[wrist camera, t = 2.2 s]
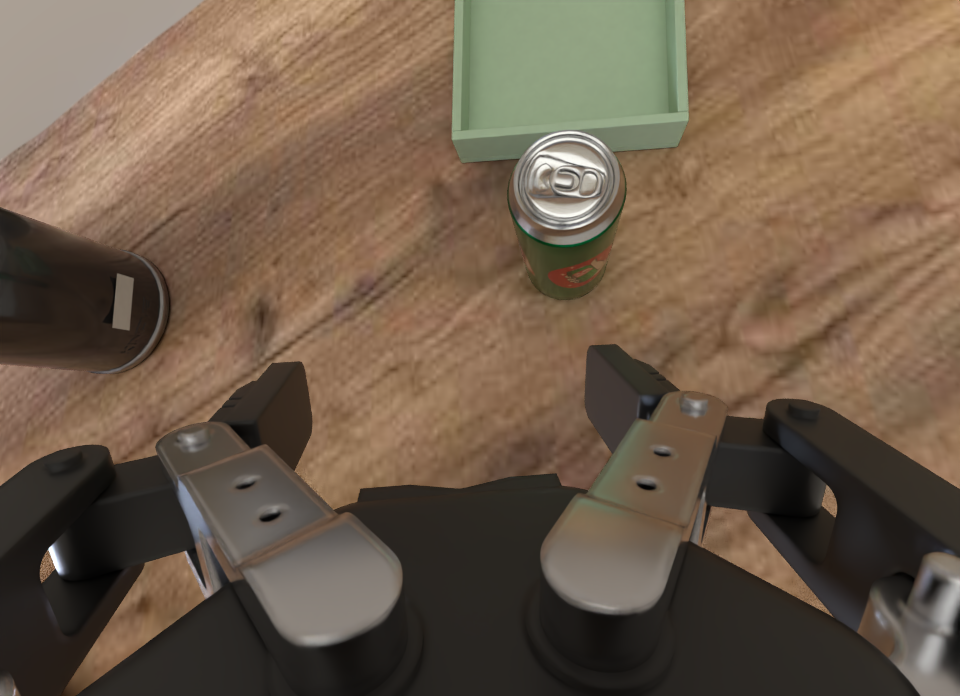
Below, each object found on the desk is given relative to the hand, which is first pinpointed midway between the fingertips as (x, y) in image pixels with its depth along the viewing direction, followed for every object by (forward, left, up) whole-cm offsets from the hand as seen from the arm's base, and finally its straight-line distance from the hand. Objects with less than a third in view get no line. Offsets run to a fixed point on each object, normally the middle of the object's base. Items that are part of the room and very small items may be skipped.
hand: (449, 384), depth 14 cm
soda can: (0, +9, -18) cm, 20 cm away
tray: (-6, +25, -18) cm, 31 cm away
